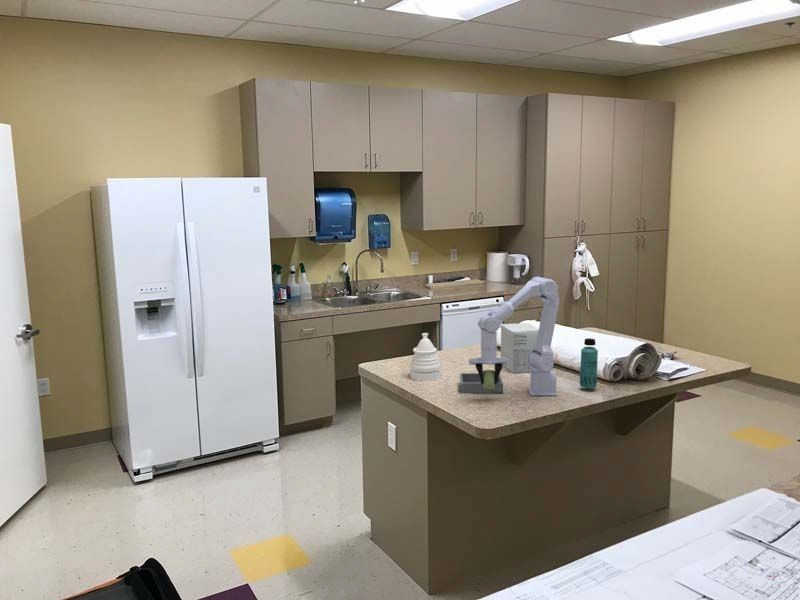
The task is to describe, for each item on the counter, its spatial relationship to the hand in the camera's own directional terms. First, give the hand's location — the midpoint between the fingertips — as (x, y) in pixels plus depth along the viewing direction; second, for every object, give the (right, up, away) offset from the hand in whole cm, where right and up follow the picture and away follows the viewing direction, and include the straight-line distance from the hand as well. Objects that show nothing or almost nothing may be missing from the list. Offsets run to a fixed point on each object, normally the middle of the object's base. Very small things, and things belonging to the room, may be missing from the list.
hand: (488, 383), depth 241 cm
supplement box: (+20, +1, +43) cm, 48 cm away
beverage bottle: (+40, -4, +10) cm, 41 cm away
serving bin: (-1, -4, +15) cm, 15 cm away
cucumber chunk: (0, -1, 0) cm, 2 cm away
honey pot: (-22, -2, +32) cm, 39 cm away
